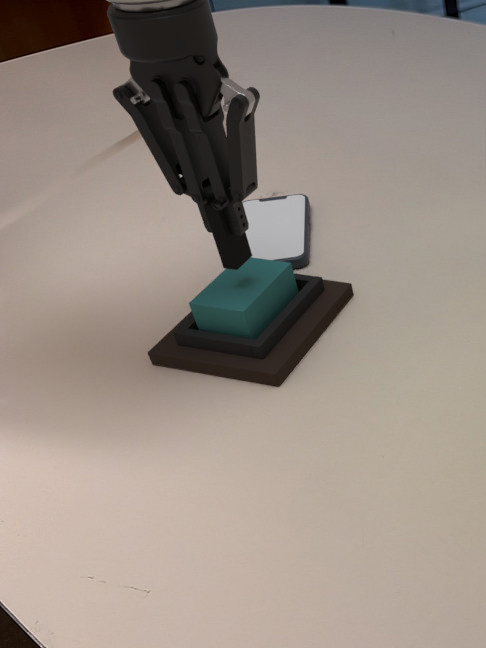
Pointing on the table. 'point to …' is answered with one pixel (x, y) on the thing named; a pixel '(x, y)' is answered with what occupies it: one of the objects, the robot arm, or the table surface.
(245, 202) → the smartphone
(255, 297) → the teal block
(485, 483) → the table surface
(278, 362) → the dark brown tray
